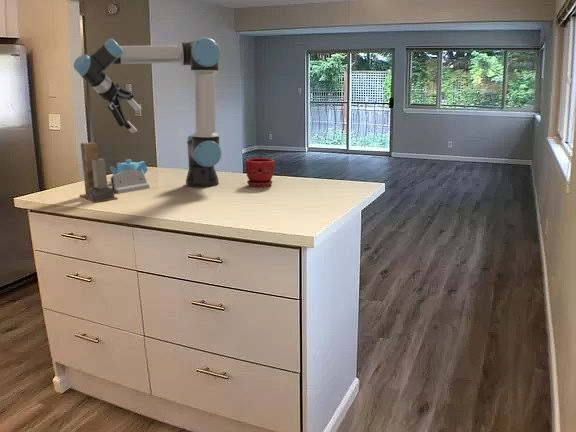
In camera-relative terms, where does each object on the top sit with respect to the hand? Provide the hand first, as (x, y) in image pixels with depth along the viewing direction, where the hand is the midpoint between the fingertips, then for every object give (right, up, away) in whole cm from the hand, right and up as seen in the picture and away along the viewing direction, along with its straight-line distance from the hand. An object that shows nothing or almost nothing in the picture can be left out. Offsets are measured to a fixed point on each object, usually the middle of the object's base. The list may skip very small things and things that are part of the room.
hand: (136, 120), depth 251 cm
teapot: (-10, -26, +26) cm, 38 cm away
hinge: (-4, -31, +5) cm, 32 cm away
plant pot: (+54, -28, +11) cm, 62 cm away
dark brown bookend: (-13, -34, -11) cm, 39 cm away
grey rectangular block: (-11, -35, -14) cm, 39 cm away
